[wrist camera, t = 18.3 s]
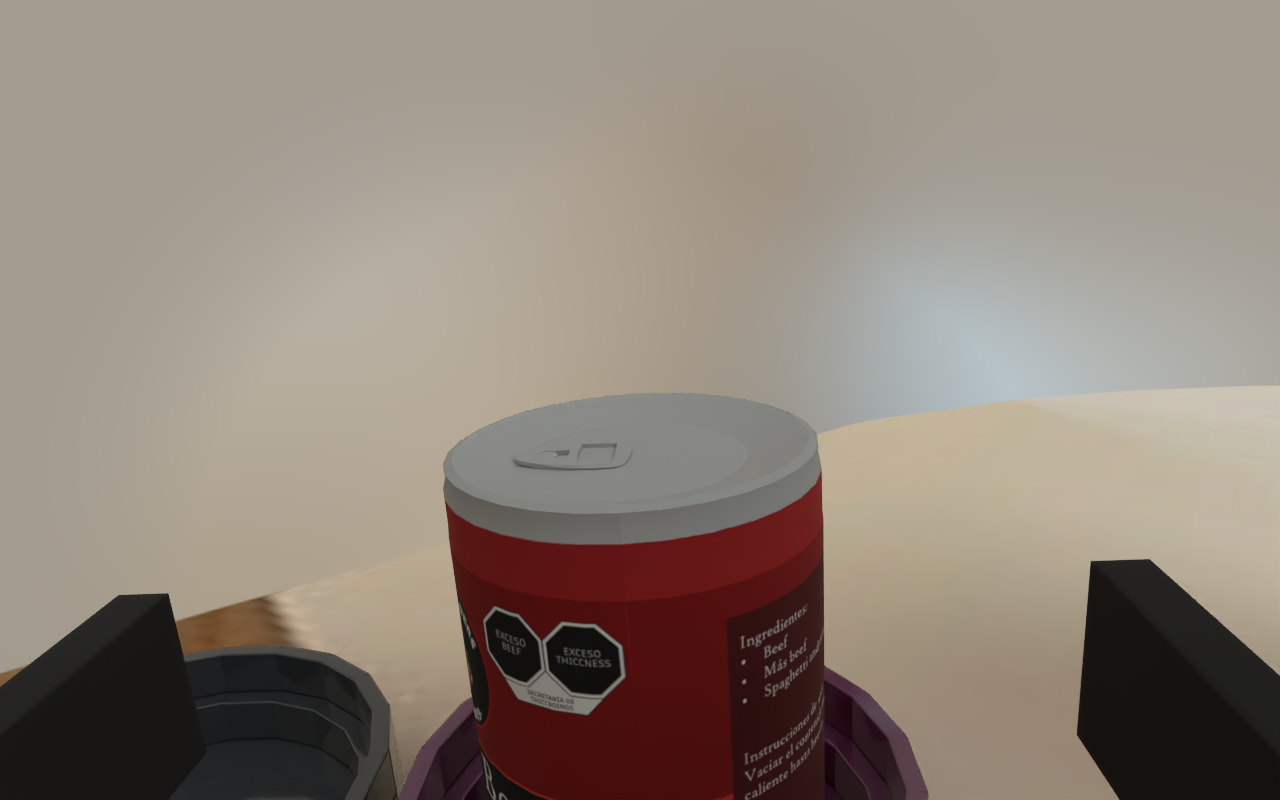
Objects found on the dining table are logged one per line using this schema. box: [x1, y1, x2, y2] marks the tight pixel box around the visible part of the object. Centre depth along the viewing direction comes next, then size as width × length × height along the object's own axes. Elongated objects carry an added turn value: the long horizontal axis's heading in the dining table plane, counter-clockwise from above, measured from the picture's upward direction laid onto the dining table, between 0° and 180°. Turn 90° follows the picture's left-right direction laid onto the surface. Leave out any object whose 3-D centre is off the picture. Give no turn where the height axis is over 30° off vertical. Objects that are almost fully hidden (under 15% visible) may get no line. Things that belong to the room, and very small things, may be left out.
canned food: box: [443, 393, 825, 800], centre depth 20 cm, size 8×8×11 cm
